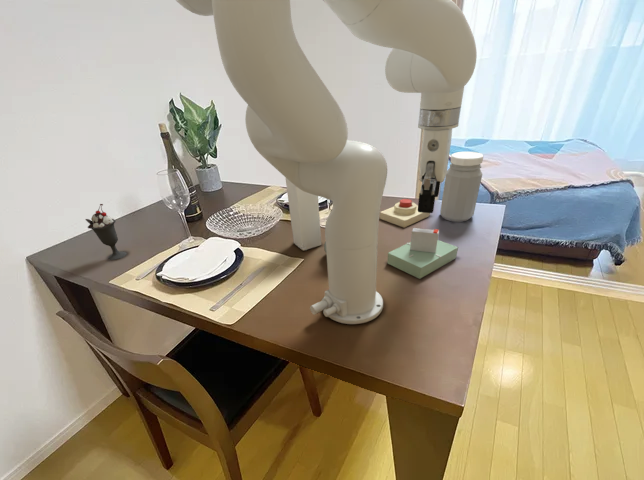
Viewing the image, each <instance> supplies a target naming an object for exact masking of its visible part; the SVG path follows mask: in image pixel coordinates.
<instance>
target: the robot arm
mask: <svg viewBox="0 0 644 480" xmlns="http://www.w3.org/2000/svg"><path fill="white" fill-rule="evenodd" d="M175 1H176V2H177V3H178V4H179V5H180V6H182V7H183V8H184V9H185V10H187V11H189V12H190V13H193V14H195V15H198V16H203V17H213V22H214V28H215V29H214V30H215V35H216V40H217V46H218V50H219V51H218V52H219V56H220V59H221V62H222V65H223V68H224V71H225V73H226V75H227V78H228V80H229V81H230V83H231V85H232V86H233V88H234V89H235V91H236V92H237V93H238V95H239V96H240V97H241V98H242V100H243V101H244V102H245V103H246V104H247V107H246V111H245V129H246V132H247V135H248V138H249V140H250V142H251V144H252V146H253V147H254V149H255V150H256V151H257V152H258V153H259V154H260V156H262V157H263V158H264V159H265V161H267V162H268V163H269V164H270V165H271V166H272V167H273V168H274V169H276V170H277V171H278V172H279V173H280V174H281V175H282V176H283V177H284V178H285V177H286V178H287V179H288V180H289V181H290V182H291V183H293V184H294V185H295V186H296V187H298V188H299V189H301V190H302V191H304V192H307V193H310V194H313V195H317V196H318V197H321V198H323V199H326V200H329V201H331V203H332V208H331V210H330V212H329V214H328V216H327V219H326V221H325V225H324V226H325V227H324V237H325V241H326V252H325V254H326V253H327V254H326V265H327V268H326V269H327V282H328V283H327V284H328V289H326V290H325V291H324V295H323V298H322V299H321V301H318V302H316V303H313V304H312V305H310V306H309V310H310V312H311V314H312V315H313V316H315V315H318V314H319V313H321V312H322V313H323V315H324V317H326V318H329V319H331V320H333V321H334V322H338V323H341V324H345V325H346V324H347V325H359V324H365V323H368V322H370V321H373V320H375V319H376V318H377V317H378V316H379V315H380V314H381V313H382V311H383V308H384V299H383V297H382V295H381V294H380V293H379V292H378V291H377V276H378V275H377V272H378V251H379V248H378V247H379V244H378V243H379V227H380V226H379V224H380V212H381V205H382V200H383V195H384V193H385V188H386V183H387V178H388V164H387V160H386V158H385V156H384V154H383V153H382V152H381V150H379V148H377V147H375V146H373V145H372V144H369V143H368V142H367V143H366V142H363V141H359V140H350V139H348V137H349V128H348V123H347V119H346V117H345V115H344V113H343V110H342V109H341V106H340V105H339V104H338V102H337V100H336V98H334V96H333V95H332V93H331V92H330V90H329V88H328V87H327V85H326V84H325V83H324V81H323V80H322V78H321V76H319V74H318V73H317V71H316V70H315V68H314V67H313V66H312V64H311V62H310V61H309V59H308V58H307V56H306V54H305V52H304V50H303V49H302V47H301V46H300V43H299V42H298V39H297V37H296V33H295V30H294V26H293V20H292V11H291V10H292V9H291V0H175ZM322 1H323V2H324V3H325V4H326V6H327V7H328V8H329V9H330V10H331V11H332V13H334V14H335V16H336V17H337V18H338V19H339V20H340V21H341V22H342V23H343V25H344V26H345V27H346V28H347V29H348V30H349V31H350V32H351V34H352V35H353V36H354V37H355V38H357V39H358V40H361V41H363V42H365V43H369V44H372V45H376V46H379V47H382V48H383V47H384V48H388V49H392V50H391V51H390V52H389V54H388V56H387V58H386V62H385V66H384V73H385V79H386V81H387V83H388V85H389V86H390V87H391V88H392V89H393V90H394V91H397V92H399V93H406V94H420V102H419V103H420V104H419V113H418V125H417V128H418V129H420V130H423V131H422V141H421V150H420V151H421V152H420V161H419V179H418V180H419V181H420V182H421V185H420V191H419V194H418V201H417V202H418V203H417V206H418V212H422V213H430V214H433V213H434V209H435V203H436V202H435V201H436V198H438V197H439V194H440V188H441V184H442V183H443V182H445V177H446V173H447V170H448V168H449V167H448V165H449V160H450V152H451V145H452V137H453V129H456V128H458V127H459V125H460V117H461V110H462V103H463V98H464V91H465V86H466V85H468V83H469V81H471V78H472V77H473V75H474V72H475V68H476V64H477V45H476V40H475V36H474V33H473V31H472V28H471V26H470V24H469V22H468V20H467V18H466V16H465V14H464V12H463V10H462V9H461V8H460V7H459V5H458V4H456V2H455V1H453V0H322ZM286 178H285V179H286Z"/></svg>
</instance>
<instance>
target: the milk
mask: <svg viewBox="0 0 644 480" xmlns="http://www.w3.org/2000/svg"><path fill="white" fill-rule="evenodd" d="M284 178H285V185H286V194H287V202H288V208H289V218H290V224H291V225H290V226H291V233H292V239H293V244H294V245H295V246H296V247H298V248H299V249H300V250H301V251H302V252H303V251H307V250H311V249H314V248H317V247H321V246H322V232H321V231H322V230H321V220H320V219H321V217H320V204H319V203H320V202H319V196H317V195H313V194H310V193H307V192H304V191H302V190H301V189H299V188H298V187H296V186H295V185H294V184H293V183H291V182H290V181H289V180H288V179H287V178H286V177H285V176H284Z"/></svg>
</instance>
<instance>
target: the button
mask: <svg viewBox="0 0 644 480" xmlns="http://www.w3.org/2000/svg"><path fill="white" fill-rule="evenodd" d="M399 202H400V207H403V208H408V207H411V206H412V202H413V200H412V199H410V198H403V199H400V200H399Z"/></svg>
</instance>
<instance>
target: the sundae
mask: <svg viewBox="0 0 644 480" xmlns="http://www.w3.org/2000/svg"><path fill="white" fill-rule="evenodd" d="M103 206H104V204H103V203H100V204H99V207H98V210H96V211H95V213H94V214H92V216H91V218H90V219H89V218H85V221H86V223H88V224H89V225H88V226H87V229H90V230H92V231H93V232H94V233H95V235H96V237H97V238H98V240H99V241H100V242H101V243H102V244H103V245H105V246H108V247H110V249H111V251H112V254H110V255H109V256H108V257H107V259H108V260H109V261H117V260H120V259H123V258H124V257H126V256H127V255H128V254H127V252H126V251H119V250H118V248H117V246H116V244H117V243H118V241H119V239H118V233H117V231H116V228H115V223H116V222H117V221H116V220H115V219H114V218H112V217H110V216H109V215H107V212H106V211H103V208H102V207H103Z"/></svg>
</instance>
